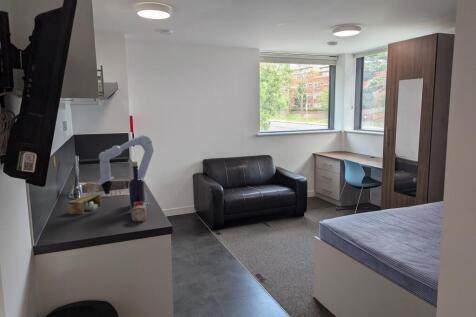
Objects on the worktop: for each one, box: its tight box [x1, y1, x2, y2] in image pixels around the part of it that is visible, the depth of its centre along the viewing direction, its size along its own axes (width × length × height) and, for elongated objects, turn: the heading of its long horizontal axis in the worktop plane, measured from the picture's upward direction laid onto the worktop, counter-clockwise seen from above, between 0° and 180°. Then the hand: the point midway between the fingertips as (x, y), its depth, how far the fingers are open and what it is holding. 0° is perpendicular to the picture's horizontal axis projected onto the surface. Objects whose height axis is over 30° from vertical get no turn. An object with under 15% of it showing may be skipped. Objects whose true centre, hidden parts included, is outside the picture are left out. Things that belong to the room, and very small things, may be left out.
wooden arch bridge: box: [68, 193, 103, 215], centre depth 208 cm, size 9×19×7 cm, turn 170°
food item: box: [130, 201, 148, 223], centre depth 187 cm, size 14×8×10 cm, turn 15°
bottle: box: [128, 161, 145, 214], centre depth 198 cm, size 9×9×30 cm
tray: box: [84, 201, 99, 211], centre depth 208 cm, size 9×5×4 cm, turn 81°
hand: (107, 193), depth 207 cm, fingers closed
